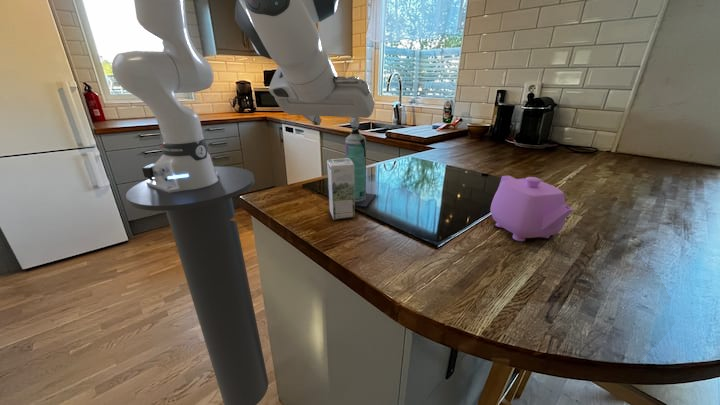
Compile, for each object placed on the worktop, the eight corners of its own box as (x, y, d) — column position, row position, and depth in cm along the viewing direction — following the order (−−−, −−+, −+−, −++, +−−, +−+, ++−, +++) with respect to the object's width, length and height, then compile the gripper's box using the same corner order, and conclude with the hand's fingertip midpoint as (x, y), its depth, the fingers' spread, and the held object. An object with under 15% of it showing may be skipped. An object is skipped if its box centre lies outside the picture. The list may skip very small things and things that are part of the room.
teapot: (474, 214, 77) (482, 167, 72) (516, 210, 79) (527, 164, 74) (529, 258, 59) (545, 199, 54) (582, 250, 61) (602, 193, 56)
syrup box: (350, 208, 81) (348, 156, 75) (355, 218, 76) (354, 163, 70) (329, 211, 80) (326, 158, 74) (333, 221, 74) (330, 165, 68)
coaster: (336, 203, 84) (336, 202, 84) (348, 192, 92) (348, 191, 92) (365, 208, 81) (365, 206, 81) (375, 196, 89) (375, 194, 89)
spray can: (368, 195, 88) (368, 127, 80) (362, 202, 83) (362, 130, 75) (350, 193, 89) (349, 126, 81) (344, 200, 85) (342, 129, 77)
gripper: (369, 63, 52) (383, 113, 65) (272, 65, 59) (301, 111, 71) (360, 91, 50) (377, 138, 63) (261, 90, 57) (293, 133, 69)
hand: (336, 123), depth 67 cm, fingers open, 8 cm apart
